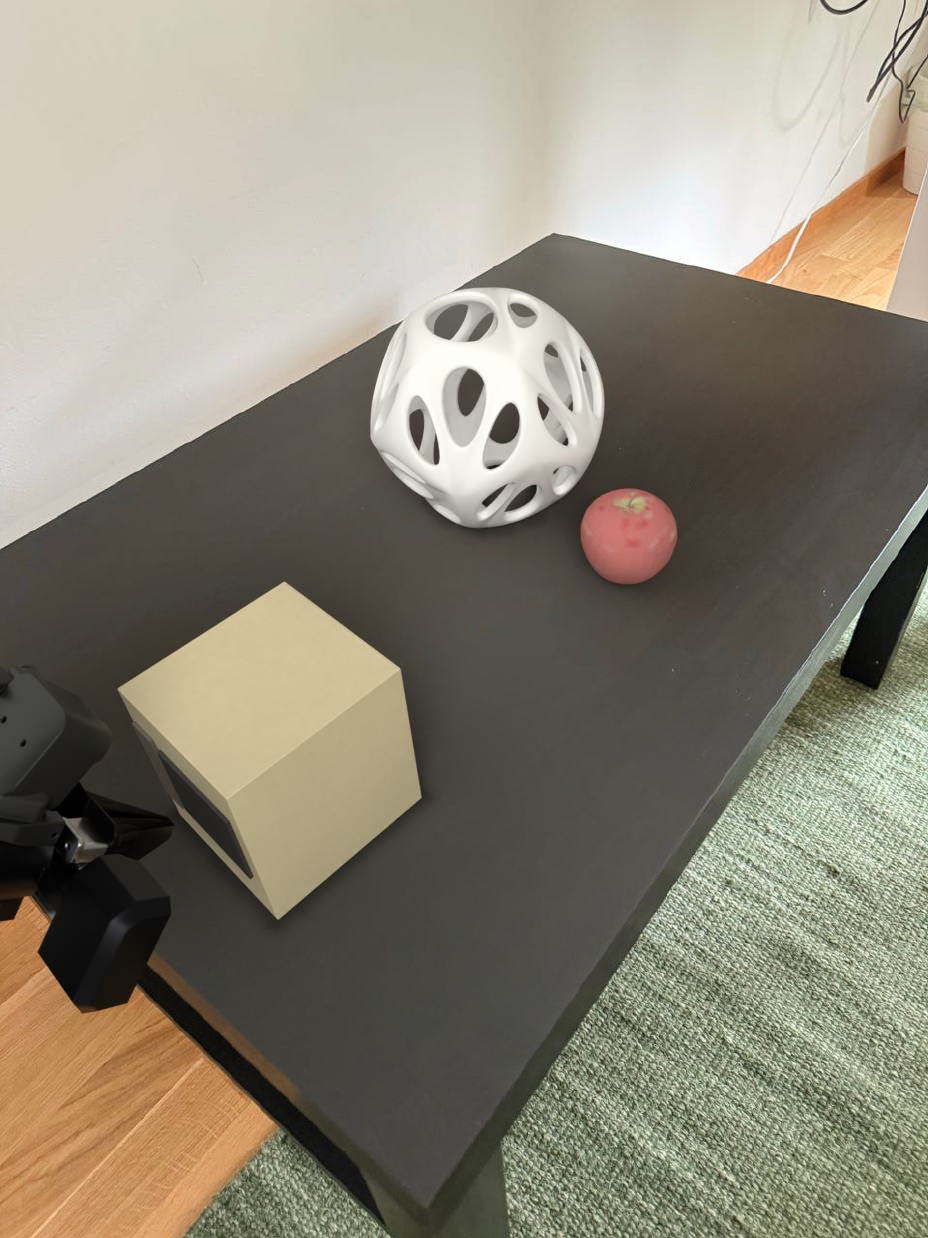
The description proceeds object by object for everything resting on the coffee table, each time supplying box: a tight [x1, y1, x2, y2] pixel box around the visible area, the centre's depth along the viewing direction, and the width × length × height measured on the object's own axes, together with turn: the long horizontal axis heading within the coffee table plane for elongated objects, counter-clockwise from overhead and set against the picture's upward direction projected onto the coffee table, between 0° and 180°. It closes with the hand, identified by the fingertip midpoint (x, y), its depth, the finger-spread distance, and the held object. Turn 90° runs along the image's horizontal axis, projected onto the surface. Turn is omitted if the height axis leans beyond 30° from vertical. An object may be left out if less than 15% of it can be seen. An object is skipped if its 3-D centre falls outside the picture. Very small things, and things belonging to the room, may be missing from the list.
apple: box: [580, 487, 678, 585], centre depth 73 cm, size 7×7×8 cm
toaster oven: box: [117, 581, 422, 921], centre depth 57 cm, size 12×11×13 cm
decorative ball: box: [369, 286, 606, 529], centre depth 79 cm, size 20×20×17 cm
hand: (169, 828), depth 54 cm, fingers closed
